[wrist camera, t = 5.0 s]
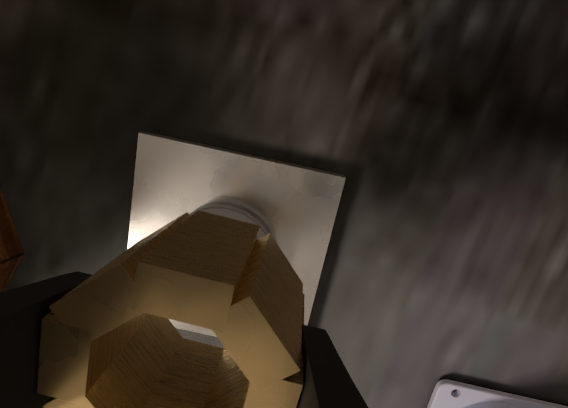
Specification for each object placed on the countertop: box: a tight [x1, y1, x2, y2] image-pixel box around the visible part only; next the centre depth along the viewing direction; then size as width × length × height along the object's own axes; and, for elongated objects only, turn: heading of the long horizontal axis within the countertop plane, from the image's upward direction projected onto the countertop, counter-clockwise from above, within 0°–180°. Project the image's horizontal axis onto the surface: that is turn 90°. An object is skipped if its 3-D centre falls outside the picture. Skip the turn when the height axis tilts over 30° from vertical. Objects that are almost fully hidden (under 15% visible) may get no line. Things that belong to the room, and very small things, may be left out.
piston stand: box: [127, 132, 346, 337], centre depth 15 cm, size 10×10×6 cm
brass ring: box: [37, 210, 305, 408], centre depth 8 cm, size 5×5×4 cm
